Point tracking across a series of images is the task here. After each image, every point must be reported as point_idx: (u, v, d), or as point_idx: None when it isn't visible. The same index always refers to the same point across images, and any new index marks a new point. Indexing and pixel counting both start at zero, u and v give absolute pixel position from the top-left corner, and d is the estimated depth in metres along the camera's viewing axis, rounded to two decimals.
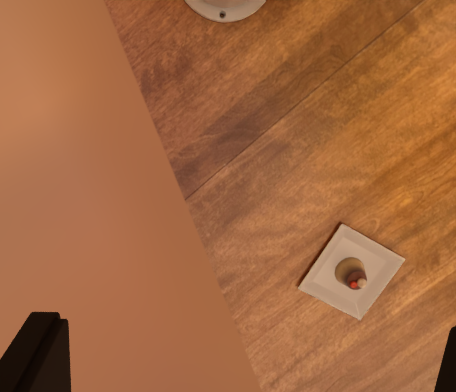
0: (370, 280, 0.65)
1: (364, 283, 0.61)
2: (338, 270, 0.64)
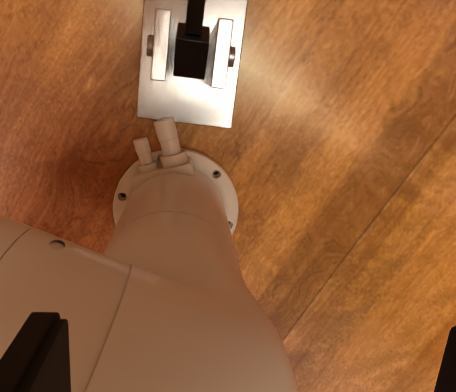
0: None
1: None
2: None
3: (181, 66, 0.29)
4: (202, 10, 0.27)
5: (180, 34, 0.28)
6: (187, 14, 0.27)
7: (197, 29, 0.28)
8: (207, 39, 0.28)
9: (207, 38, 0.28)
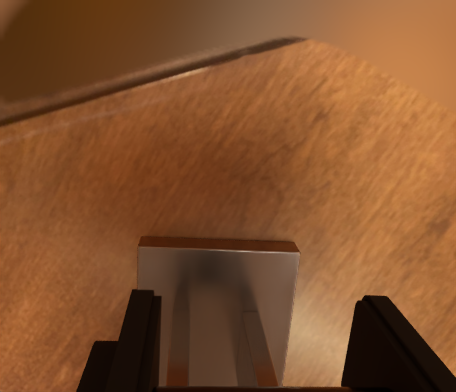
0: None
1: None
2: None
3: None
4: None
5: None
6: None
7: None
8: None
9: None
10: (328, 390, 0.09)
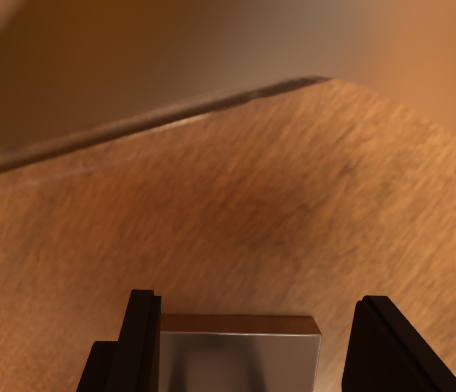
0: None
1: None
2: None
3: None
4: None
5: None
6: None
7: None
8: None
9: None
10: None
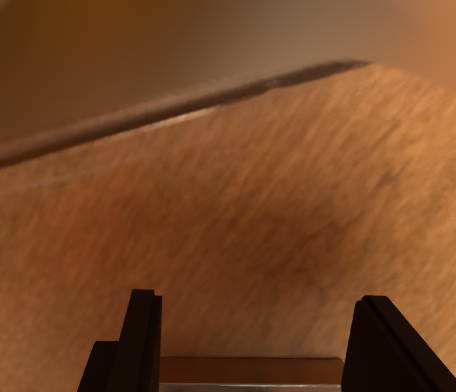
0: None
1: None
2: None
3: None
4: None
5: None
6: None
7: None
8: None
9: None
10: None
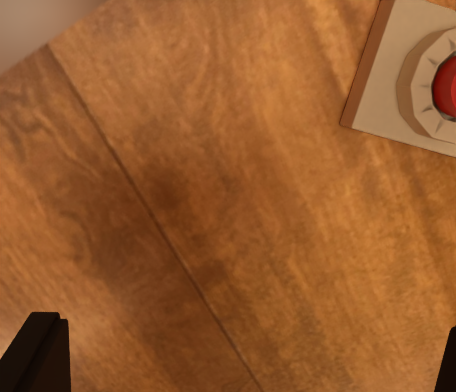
0: None
1: None
2: None
3: None
4: None
5: None
6: None
7: None
8: None
9: None
10: None
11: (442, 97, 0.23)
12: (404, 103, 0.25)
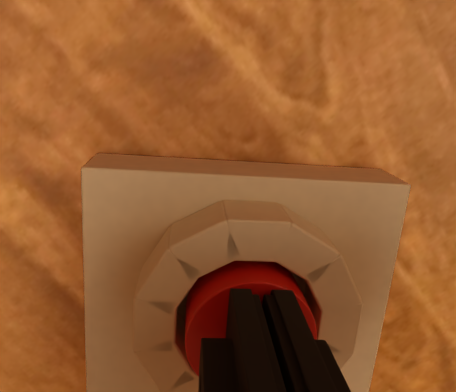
0: None
1: None
2: None
3: None
4: None
5: None
6: None
7: None
8: None
9: None
10: None
11: None
12: None
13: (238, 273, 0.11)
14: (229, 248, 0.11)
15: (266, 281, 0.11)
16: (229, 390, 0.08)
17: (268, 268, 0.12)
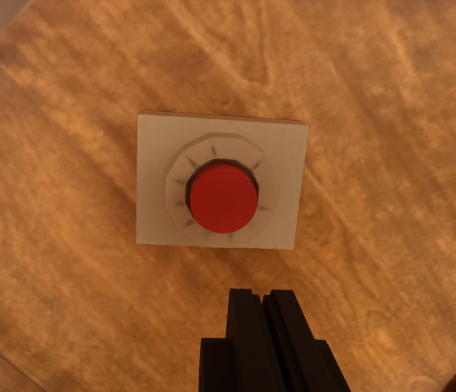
0: None
1: None
2: None
3: None
4: None
5: None
6: None
7: None
8: None
9: None
10: None
11: None
12: None
13: (217, 167, 0.23)
14: (212, 151, 0.23)
15: (231, 169, 0.22)
16: (229, 390, 0.08)
17: (233, 167, 0.23)
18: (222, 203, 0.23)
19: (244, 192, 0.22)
